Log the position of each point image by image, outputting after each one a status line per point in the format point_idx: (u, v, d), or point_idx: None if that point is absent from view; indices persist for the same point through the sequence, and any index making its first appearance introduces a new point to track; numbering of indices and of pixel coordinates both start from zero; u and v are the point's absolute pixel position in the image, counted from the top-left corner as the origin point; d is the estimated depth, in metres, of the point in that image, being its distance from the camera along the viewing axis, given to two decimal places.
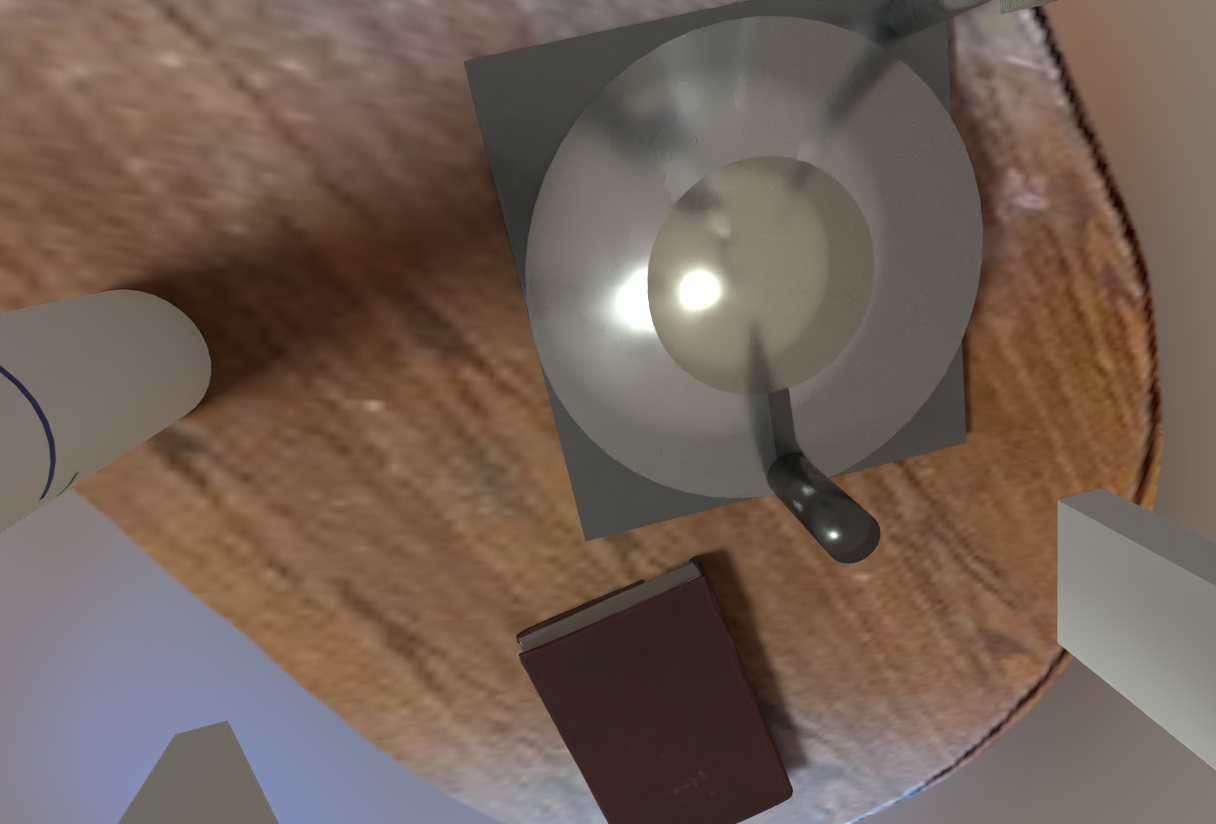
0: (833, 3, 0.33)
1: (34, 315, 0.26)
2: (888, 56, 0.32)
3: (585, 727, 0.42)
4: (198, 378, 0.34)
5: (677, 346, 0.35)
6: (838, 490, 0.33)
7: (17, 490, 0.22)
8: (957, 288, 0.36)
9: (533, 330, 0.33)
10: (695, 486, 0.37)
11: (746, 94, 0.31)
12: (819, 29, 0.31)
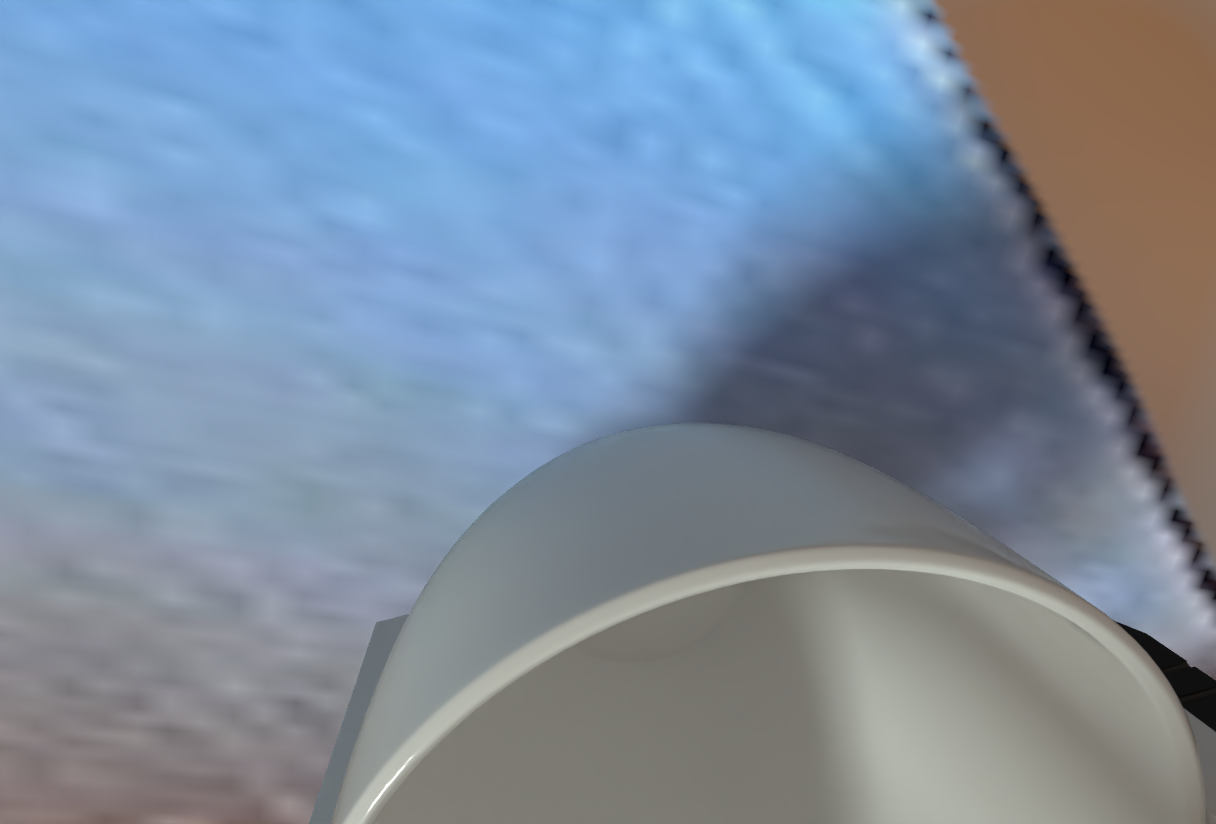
0: None
1: None
2: None
3: None
4: None
5: None
6: None
7: None
8: None
9: None
10: None
11: None
12: None
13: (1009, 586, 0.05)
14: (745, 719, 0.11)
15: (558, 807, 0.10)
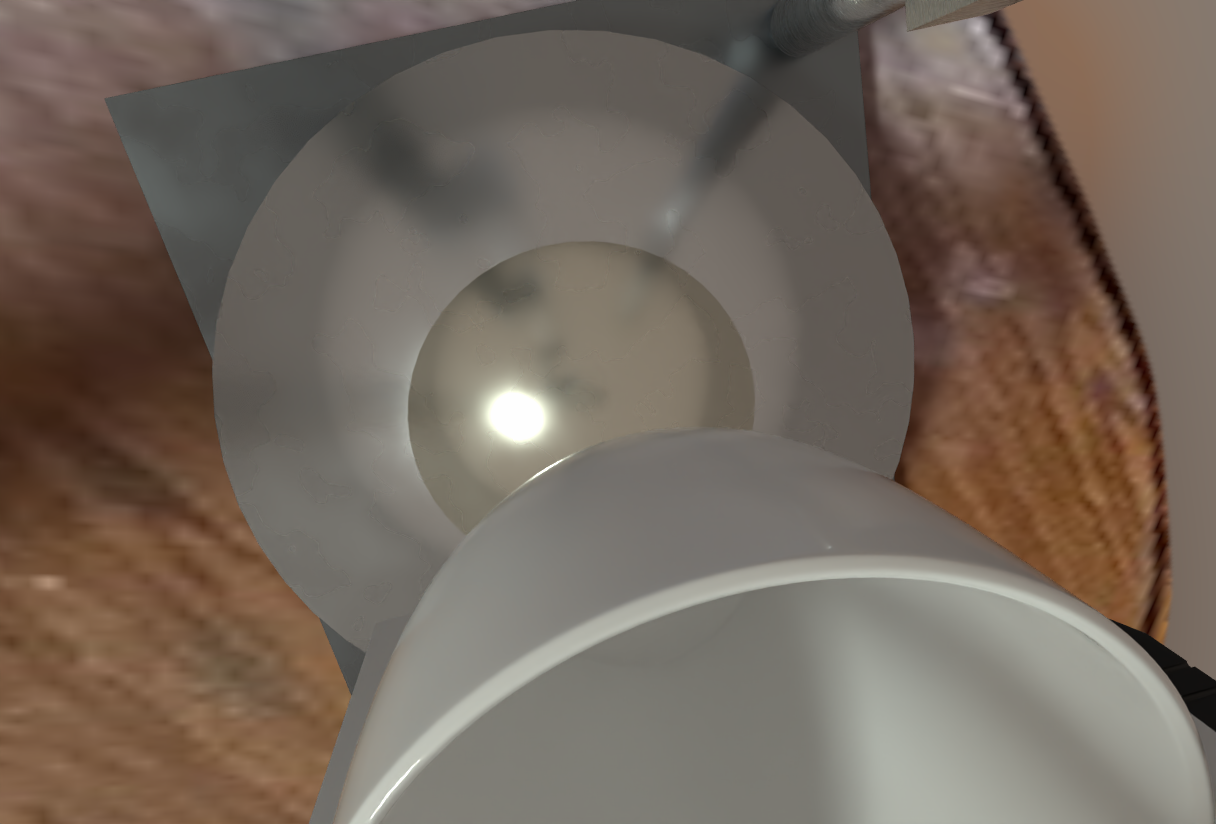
0: (683, 10, 0.22)
1: None
2: (759, 91, 0.21)
3: None
4: None
5: (464, 512, 0.24)
6: None
7: None
8: (879, 421, 0.25)
9: (238, 497, 0.22)
10: None
11: (539, 150, 0.20)
12: (647, 51, 0.20)
13: (1017, 595, 0.05)
14: (746, 722, 0.11)
15: (559, 812, 0.10)
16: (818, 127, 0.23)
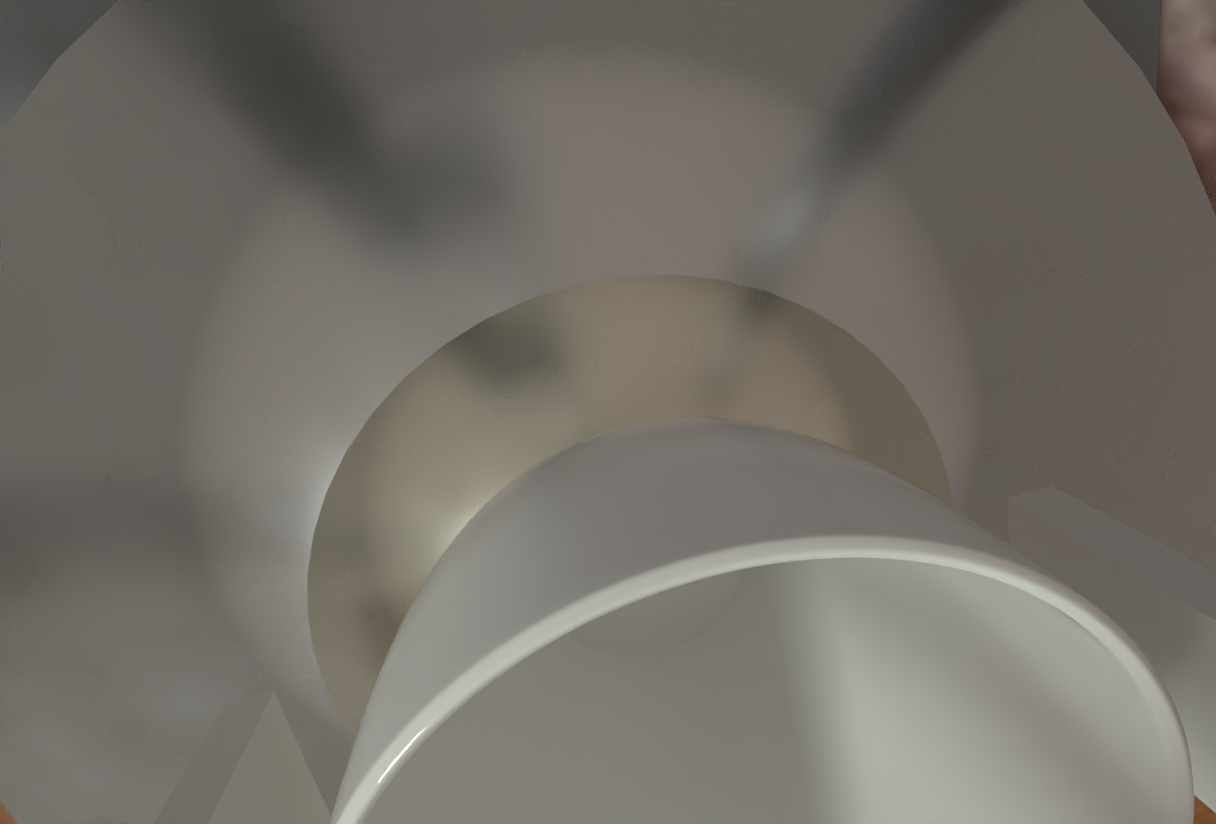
0: None
1: None
2: None
3: None
4: None
5: None
6: None
7: None
8: None
9: None
10: None
11: (566, 87, 0.10)
12: None
13: (998, 575, 0.05)
14: (743, 711, 0.12)
15: (558, 796, 0.10)
16: None
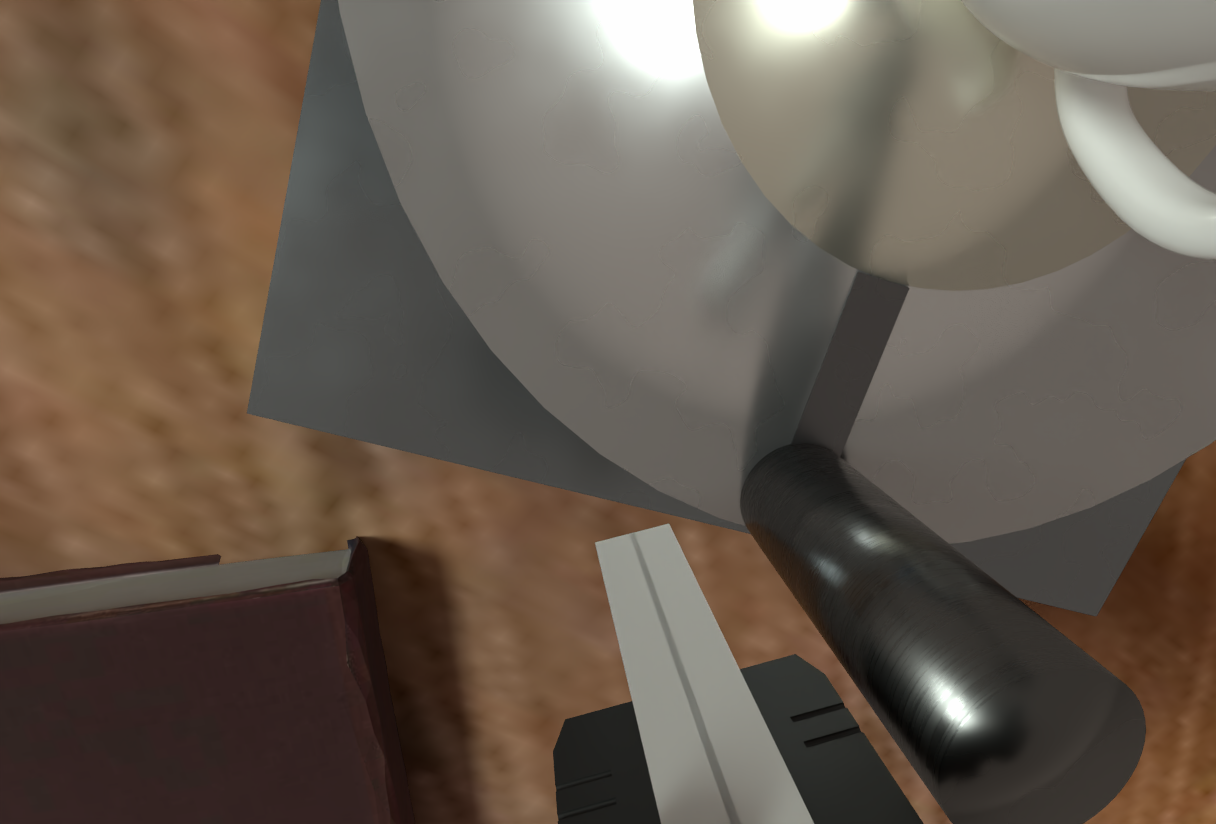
0: None
1: None
2: None
3: None
4: None
5: None
6: None
7: None
8: None
9: None
10: (576, 407, 0.14)
11: None
12: None
13: None
14: None
15: None
16: None
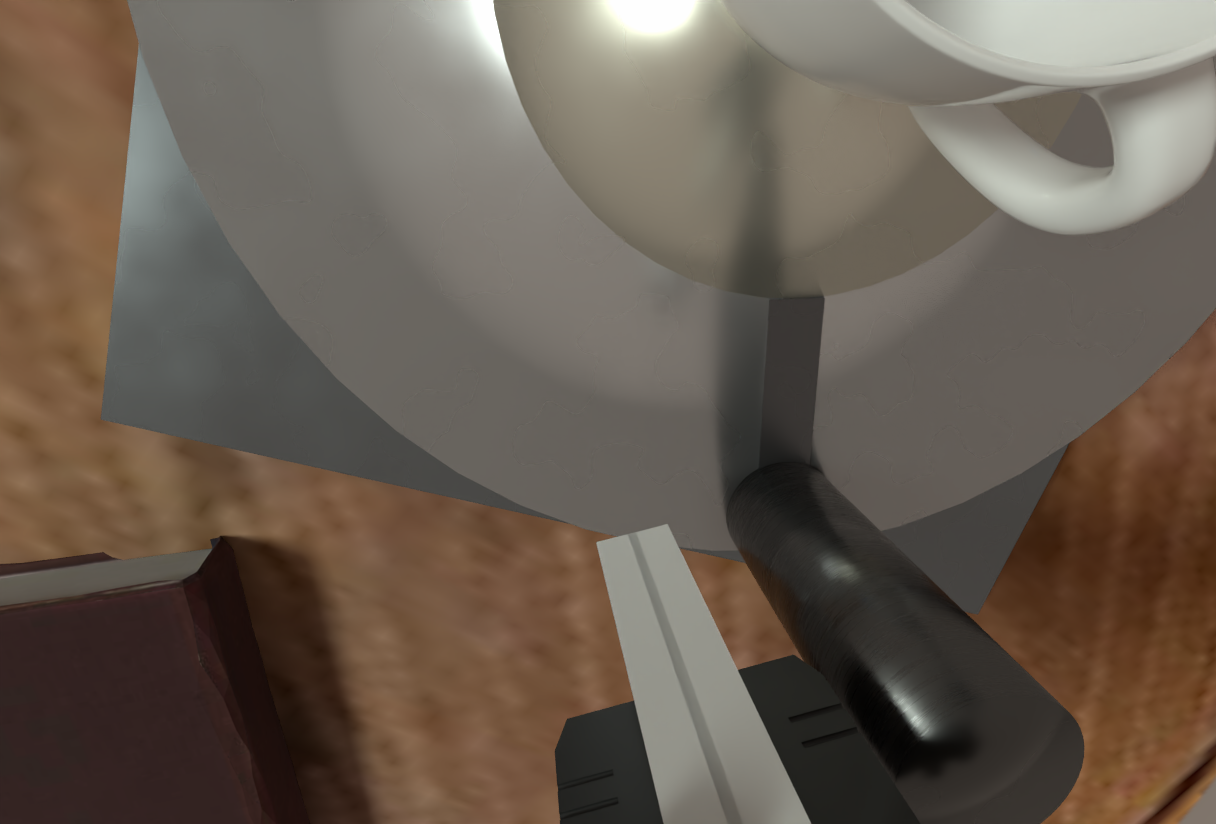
0: None
1: None
2: None
3: None
4: None
5: (554, 104, 0.12)
6: (936, 589, 0.11)
7: None
8: None
9: None
10: (550, 497, 0.15)
11: None
12: None
13: None
14: None
15: None
16: None
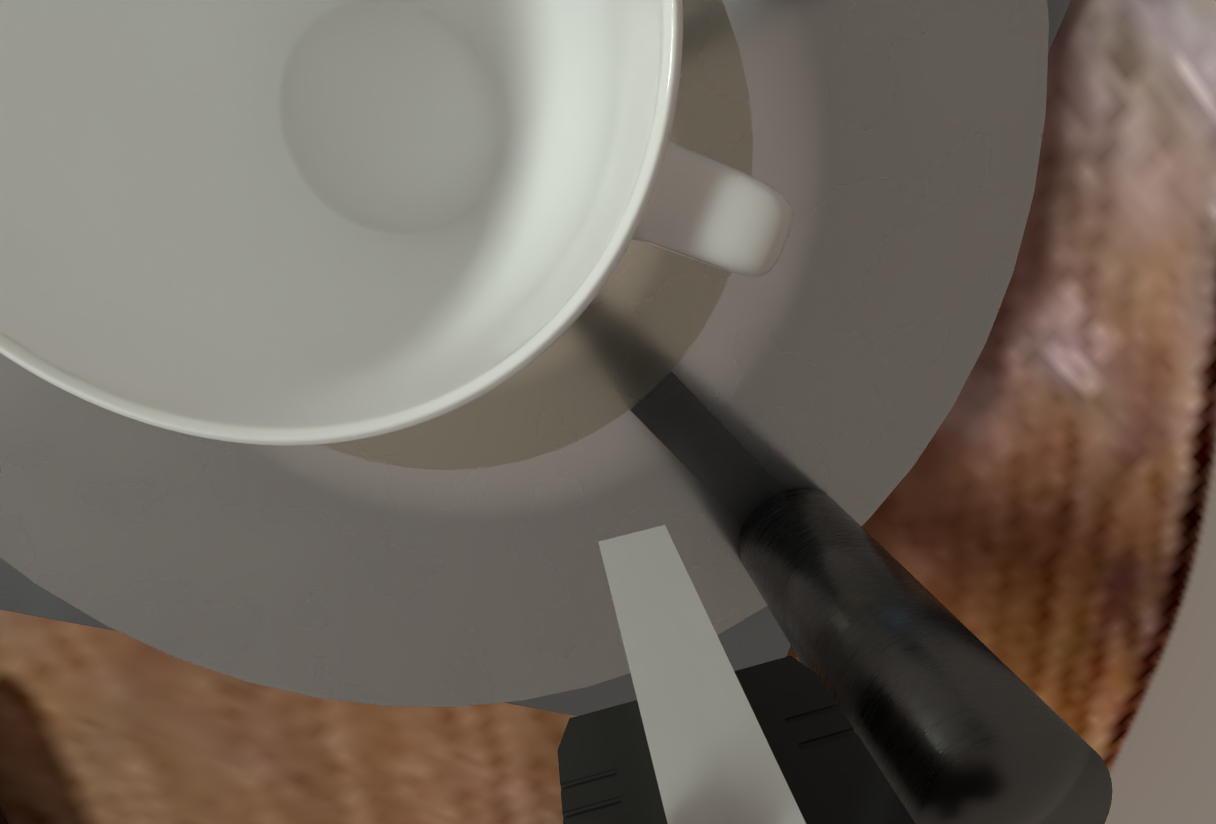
0: None
1: None
2: None
3: None
4: None
5: None
6: (898, 619, 0.10)
7: None
8: None
9: (25, 572, 0.14)
10: (603, 666, 0.16)
11: None
12: None
13: None
14: (536, 186, 0.11)
15: (380, 316, 0.11)
16: None
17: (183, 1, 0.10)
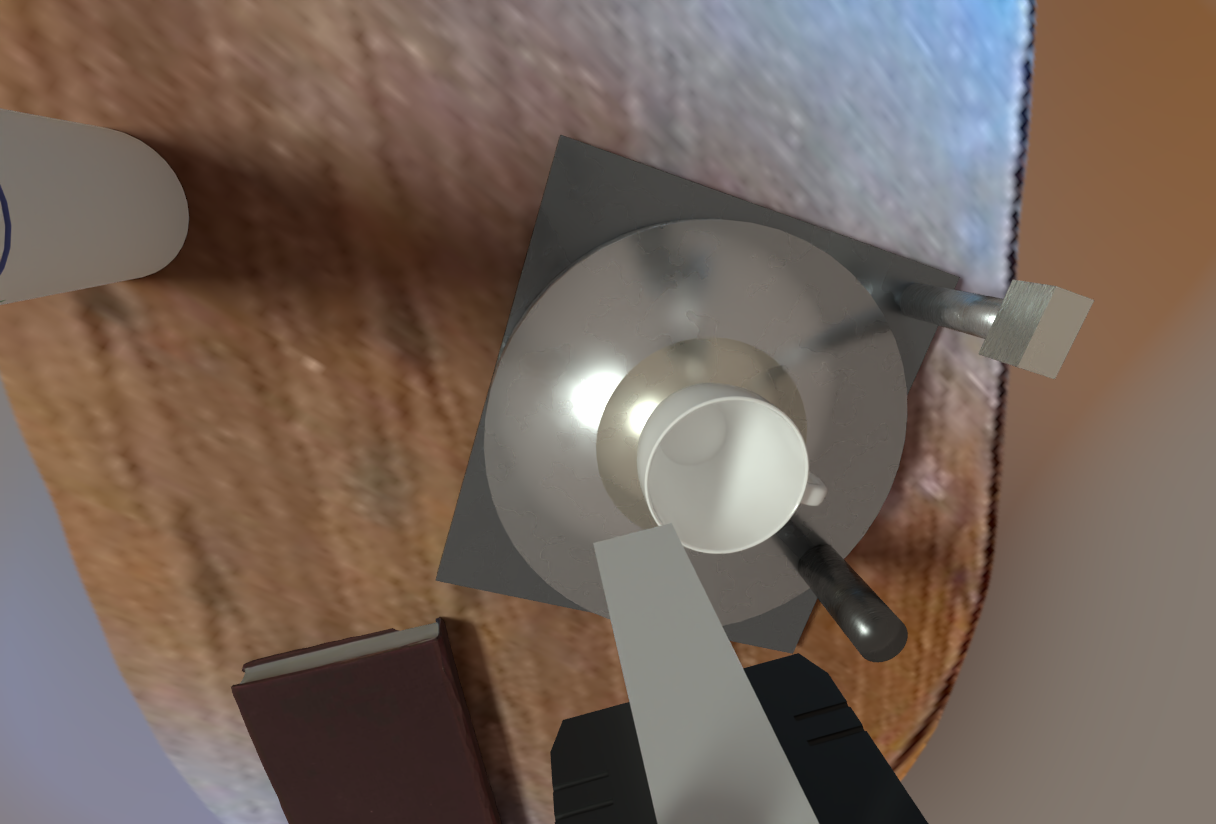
0: (866, 261, 0.38)
1: (48, 134, 0.25)
2: (700, 224, 0.34)
3: (293, 770, 0.41)
4: (162, 257, 0.33)
5: None
6: (855, 591, 0.35)
7: None
8: (875, 349, 0.37)
9: (546, 580, 0.38)
10: (744, 613, 0.41)
11: (602, 325, 0.35)
12: (630, 243, 0.34)
13: (718, 401, 0.29)
14: (743, 458, 0.36)
15: (699, 502, 0.36)
16: None
17: None
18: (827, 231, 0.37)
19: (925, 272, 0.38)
